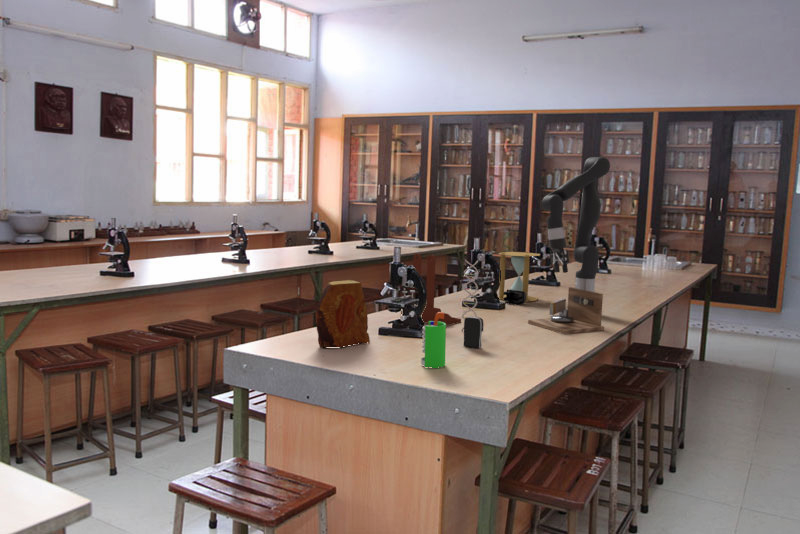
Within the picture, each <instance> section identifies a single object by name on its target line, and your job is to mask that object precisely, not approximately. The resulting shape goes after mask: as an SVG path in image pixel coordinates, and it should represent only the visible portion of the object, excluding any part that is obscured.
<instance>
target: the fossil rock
mask: <svg viewBox="0 0 800 534" xmlns="http://www.w3.org/2000/svg"><path fill="white" fill-rule="evenodd" d="M314 315H315V325H316V331H317V342H318V346H319V347H320V346H321V347H343V346H348V345H353V344H358V343H367V342H371V340H370V334H369V333H368V329H369V325H368V321H369V320H368V318H369V317H368V307H367V304H366V302H365V294H364V292H363V288H362V282H359V281H356V280H352V279H346V280H337V281H331V282H328V283H327V285H326V286H325V288H324V290H323V291H322V294H321V296H320V298H319V301H318V304H317V307H316V310H315V313H314ZM358 345H359V344H358ZM353 346H354V345H353ZM321 347H320V348H321Z"/></svg>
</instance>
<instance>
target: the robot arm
mask: <svg viewBox="0 0 800 534" xmlns="http://www.w3.org/2000/svg"><path fill="white" fill-rule="evenodd" d="M610 169H611V162H610V160H609V159H608V158H606V157H605V156H604V157H603V156H592V157H588V158H587V159H586V160H585V161H584V165H583V173H581V174H578V175H576V176H574V177H572V178H570V179H568V180H567V181H566V182H564V183H563V184H562V185H561V186H559V187H558V188H557V189H554V191H552V192H550V193H548V194H547V195H545V196H544V197H543V198H542V200H541V203H540V204H541V208H542V209H543V210H544V211H548V212H549V211H550V212H549V215H548V217H547V218H546V226H547V238H548V244H549V249H550V251H549V255H550V263H551V264H552V265H553V267H554V273H556V274H557V273H560V271H561V269H560V263H561V267H562V273H564V274H565V273H568V271H569V270H568V268H569V267H568V265H569V264H568V263H570V257H569V252H568V249H564V248H566V247H567V241H566V235H565V230H564V223H563V212H564V202H565V201H568V200H569V199H571V198H572V197H574V196H575V195H576V194H577V193H579V191H581V190H582V195H581V197H582V198H581V204H580V211H579V221H578V229H577V235H576V240H575V244H574V249H573V258H574V260H575V262H577V263H579V264H581V268H580V269H579V270H577V271H576V272H575V280H574V281H575V284H574V288H577V289H582V290H587V291H592V292H595V289H596V287H595V286H596V275H597V272H598V269H599V262H600V261H599V260H600V252H599V249H598V247H596V246H595V245H592V244H590V241H591V240H590V239H591V235H592V232H593V230H594V229H595V228H596V226H597V224H598V223H599V220H600V217H601V209H602V208H601V206H602V204H601V199H600V196H599V194H598V190H597V180H599V179H600V178H603V177H605V176H606V175H607V174H608V173H609V172H610Z"/></svg>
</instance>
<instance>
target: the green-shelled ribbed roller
mask: <svg viewBox="0 0 800 534" xmlns="http://www.w3.org/2000/svg"><path fill="white" fill-rule="evenodd" d="M444 313H445V312H442V311H441V312H438V313H437V314H436V316H435V320H434V321H429V323H428V324H427V325H423V326H422V334H423V335H421V336H422V337H421V338H422V346H421V347H422V349H421V352H422V353H423V354H424V357H422V358H420V365H421V364H422V365H424V366H425V367H432V368H437V369H439V368H438V367H443V366H445V367H446V342H447V341H446V337H447V325H446V323H444V322H438V319H439V318H441V319H444ZM425 367H424V368H425ZM443 368H444V367H443Z"/></svg>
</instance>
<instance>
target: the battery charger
mask: <svg viewBox="0 0 800 534" xmlns="http://www.w3.org/2000/svg"><path fill="white" fill-rule="evenodd" d="M465 317H466V316H465ZM463 320H464V319H463ZM463 327H464V329H463V347H467V346H468V348H472V347H474V348H473V349H481V348H482V333H483V332H484V320H483V318H482V317H479V316H477V317H475V316H472V315H471V316H467V317H466V318H465V320H464V321H463ZM480 347H481V348H480Z"/></svg>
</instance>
